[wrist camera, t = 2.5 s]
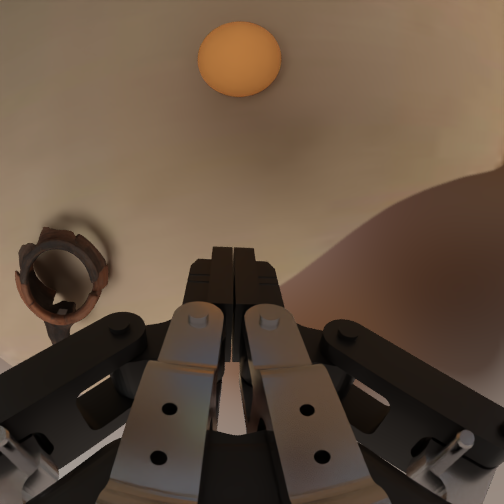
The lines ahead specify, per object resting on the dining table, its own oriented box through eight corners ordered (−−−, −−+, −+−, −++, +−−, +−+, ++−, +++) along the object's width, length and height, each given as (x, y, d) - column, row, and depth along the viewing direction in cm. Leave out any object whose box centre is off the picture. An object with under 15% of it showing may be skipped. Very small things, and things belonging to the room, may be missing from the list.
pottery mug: (20, 222, 24) (1, 233, 17) (103, 217, 29) (110, 226, 22) (34, 330, 26) (27, 369, 20) (110, 323, 31) (121, 360, 25)
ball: (199, 97, 20) (189, 93, 15) (204, 31, 18) (197, 9, 13) (272, 101, 21) (284, 98, 16) (277, 36, 18) (291, 16, 14)
